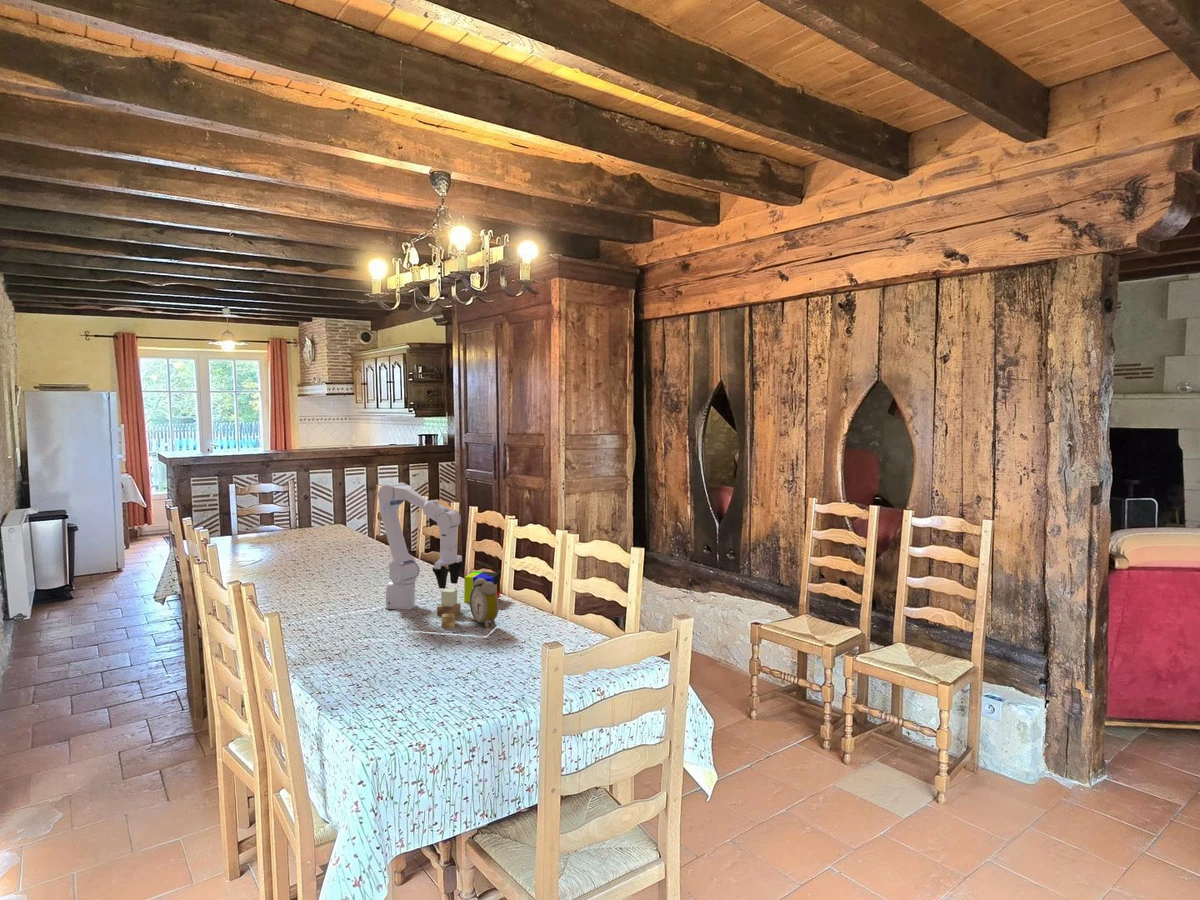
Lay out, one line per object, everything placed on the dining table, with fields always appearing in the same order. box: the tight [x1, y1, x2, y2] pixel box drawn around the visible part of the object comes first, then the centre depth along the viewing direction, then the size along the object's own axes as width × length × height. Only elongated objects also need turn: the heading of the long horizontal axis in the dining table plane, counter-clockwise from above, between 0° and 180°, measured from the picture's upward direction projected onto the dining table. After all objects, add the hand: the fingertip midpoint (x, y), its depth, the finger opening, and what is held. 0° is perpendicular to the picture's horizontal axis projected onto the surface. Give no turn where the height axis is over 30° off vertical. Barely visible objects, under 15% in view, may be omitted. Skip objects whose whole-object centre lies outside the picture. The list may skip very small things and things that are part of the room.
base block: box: [436, 602, 461, 616], centre depth 241 cm, size 6×6×3 cm
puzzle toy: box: [463, 570, 501, 604], centre depth 260 cm, size 10×10×10 cm
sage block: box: [440, 588, 458, 607], centre depth 241 cm, size 4×4×5 cm
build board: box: [425, 608, 471, 621], centre depth 241 cm, size 12×12×1 cm
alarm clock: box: [469, 578, 500, 629], centre depth 231 cm, size 12×7×15 cm, turn 35°
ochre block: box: [441, 614, 456, 629], centre depth 228 cm, size 4×4×4 cm
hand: (448, 585), depth 242 cm, fingers open, 7 cm apart
